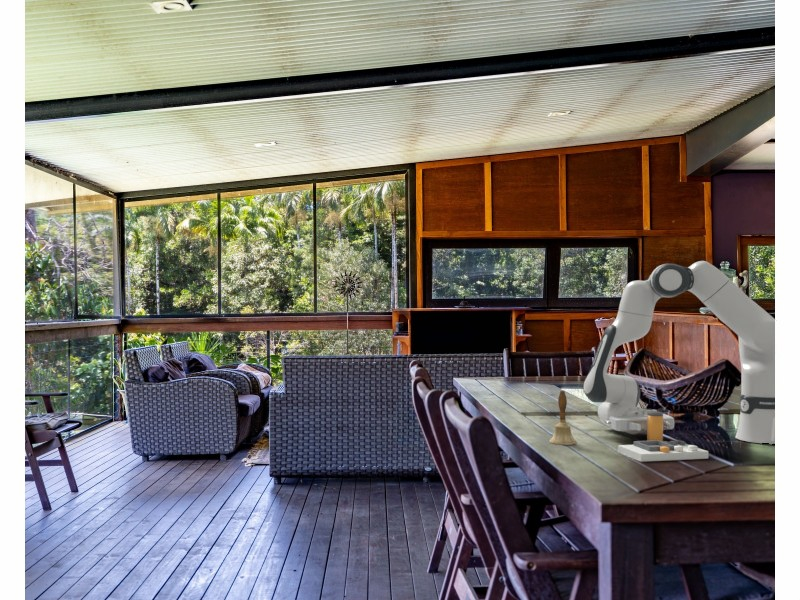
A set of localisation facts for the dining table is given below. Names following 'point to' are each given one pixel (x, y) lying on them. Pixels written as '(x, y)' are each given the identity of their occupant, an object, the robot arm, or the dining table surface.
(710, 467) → the dining table surface
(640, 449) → the board
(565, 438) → the hand bell
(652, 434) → the orange capped cylinder
